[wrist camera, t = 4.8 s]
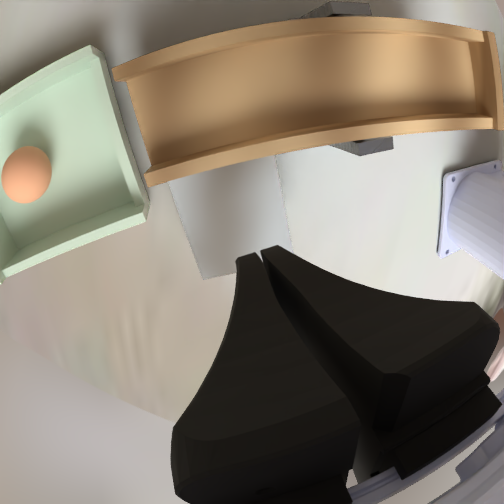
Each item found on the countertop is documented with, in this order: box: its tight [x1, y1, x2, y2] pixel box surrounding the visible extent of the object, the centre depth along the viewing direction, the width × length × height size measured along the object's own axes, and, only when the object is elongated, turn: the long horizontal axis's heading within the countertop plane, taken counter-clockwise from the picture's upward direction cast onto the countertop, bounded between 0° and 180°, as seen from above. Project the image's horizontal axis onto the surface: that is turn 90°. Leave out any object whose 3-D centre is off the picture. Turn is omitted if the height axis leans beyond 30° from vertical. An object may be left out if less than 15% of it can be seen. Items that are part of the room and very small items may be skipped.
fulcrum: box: [289, 2, 393, 156], centre depth 13 cm, size 10×7×5 cm
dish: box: [0, 45, 150, 285], centre depth 12 cm, size 10×9×4 cm
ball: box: [1, 146, 52, 203], centre depth 12 cm, size 3×3×3 cm
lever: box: [112, 16, 504, 280], centre depth 12 cm, size 18×11×3 cm, turn 103°
